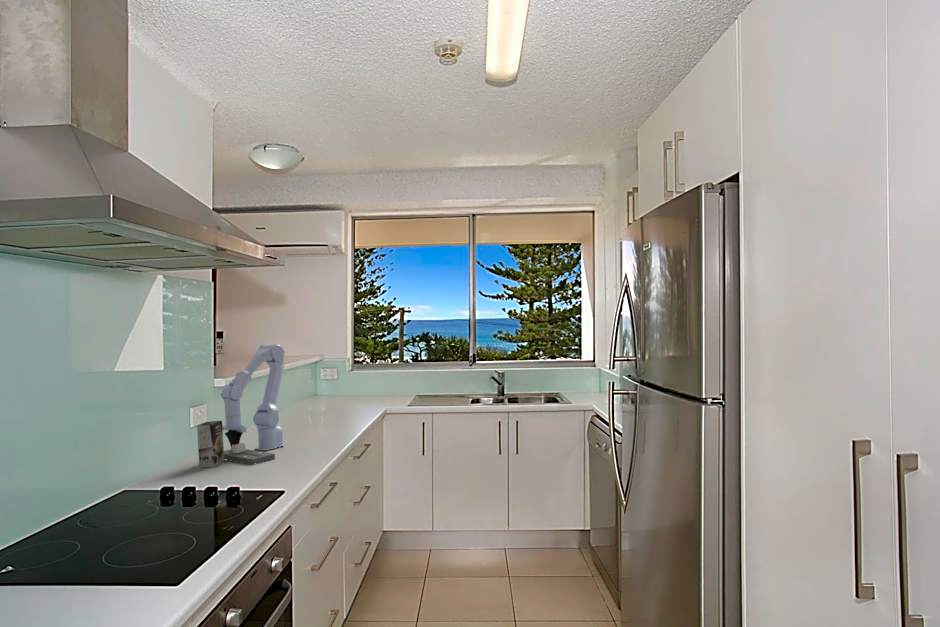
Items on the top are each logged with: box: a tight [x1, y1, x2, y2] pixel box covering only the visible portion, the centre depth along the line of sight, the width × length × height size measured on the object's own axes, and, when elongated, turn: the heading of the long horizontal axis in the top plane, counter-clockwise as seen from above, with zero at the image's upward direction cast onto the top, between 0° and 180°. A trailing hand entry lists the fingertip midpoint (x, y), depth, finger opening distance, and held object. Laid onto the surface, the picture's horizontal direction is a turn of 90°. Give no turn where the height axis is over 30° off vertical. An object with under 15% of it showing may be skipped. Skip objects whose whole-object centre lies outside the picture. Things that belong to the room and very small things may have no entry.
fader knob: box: [231, 442, 246, 453], centre depth 259 cm, size 4×3×3 cm
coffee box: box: [196, 420, 225, 468], centre depth 250 cm, size 9×6×16 cm
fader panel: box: [224, 448, 276, 465], centre depth 257 cm, size 10×26×2 cm, turn 53°
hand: (234, 449), depth 261 cm, fingers closed
